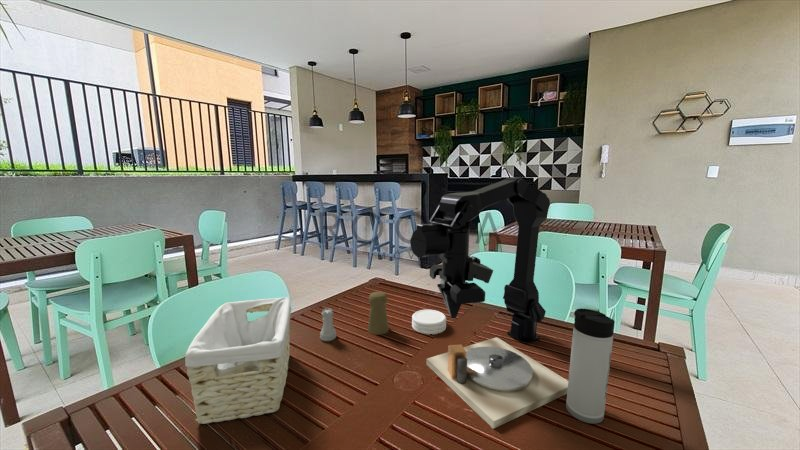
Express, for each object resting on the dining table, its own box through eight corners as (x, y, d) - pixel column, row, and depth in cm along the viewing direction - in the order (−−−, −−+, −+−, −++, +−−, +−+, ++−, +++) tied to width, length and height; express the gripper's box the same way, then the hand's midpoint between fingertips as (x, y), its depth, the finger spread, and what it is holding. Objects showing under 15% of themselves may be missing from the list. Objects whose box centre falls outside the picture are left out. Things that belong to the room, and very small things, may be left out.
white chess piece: (339, 335, 90) (339, 308, 89) (330, 343, 86) (329, 314, 85) (326, 332, 92) (325, 305, 91) (316, 339, 88) (315, 311, 87)
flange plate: (511, 348, 81) (512, 327, 80) (546, 388, 66) (549, 362, 65) (440, 354, 78) (440, 332, 77) (460, 396, 63) (461, 369, 63)
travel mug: (557, 401, 65) (566, 305, 62) (589, 399, 65) (599, 304, 62) (577, 425, 59) (587, 320, 55) (611, 423, 59) (624, 319, 56)
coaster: (451, 324, 98) (451, 313, 97) (436, 339, 89) (437, 326, 89) (422, 316, 103) (422, 306, 102) (405, 329, 95) (405, 318, 94)
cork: (385, 335, 91) (385, 297, 89) (365, 333, 92) (364, 296, 90) (390, 325, 96) (390, 290, 95) (371, 323, 98) (370, 288, 96)
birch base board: (496, 342, 87) (497, 319, 86) (573, 390, 68) (575, 362, 67) (426, 364, 77) (426, 338, 76) (493, 428, 58) (495, 395, 57)
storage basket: (225, 358, 80) (220, 300, 77) (295, 349, 84) (292, 294, 81) (188, 433, 57) (179, 355, 54) (286, 417, 61) (282, 343, 58)
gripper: (511, 260, 65) (506, 333, 68) (471, 240, 83) (469, 299, 86) (458, 263, 63) (456, 339, 65) (429, 242, 81) (428, 302, 83)
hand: (453, 317), depth 75 cm, fingers closed
